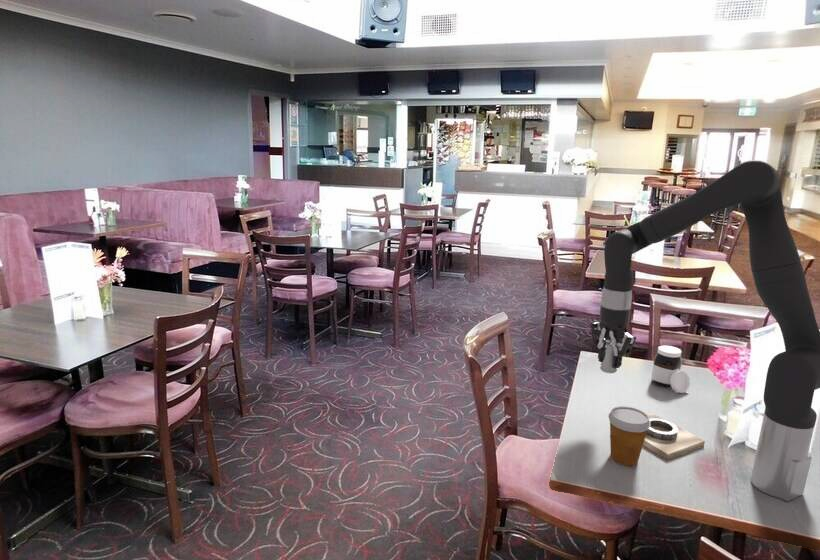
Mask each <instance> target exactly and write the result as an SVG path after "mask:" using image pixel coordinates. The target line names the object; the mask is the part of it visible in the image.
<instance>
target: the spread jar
mask: <svg viewBox="0 0 820 560" xmlns="http://www.w3.org/2000/svg"><path fill="white" fill-rule="evenodd" d="M682 365H683V358H682V350H681V349H680V348H678V347H677V346H672V345H660V346H658V347H657V353H656V355H655V356H654V360H653V364H652V371H651V381H652V382H653V383H654V384H655V385H657V386H659V387H663V388H668V389H669V388H671V389H672V390H673V391H674V392H675V393H680V394H684V393H686V392H687V391H688V390H689V387H690V384H691V383H690V382H691V381H690V376H689V375H688V373H687V372H686V371H684V370H682V367H683V366H682Z"/></svg>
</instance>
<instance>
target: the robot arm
mask: <svg viewBox="0 0 820 560" xmlns="http://www.w3.org/2000/svg"><path fill="white" fill-rule="evenodd" d="M780 177H781V176H780V174H779V172H778V170H776V168H775V167H773V166H772V165H771V164H770V163H767V162H766V161H763V160H759V159H750V160H746V161H743V162H741V163H739V164H738V165H736V166H735V167H733V168H732V169H731V170H729V171H727V172H726V173H725V174H723V175H722V176H720V177H719V178H717V179H716V180H714V181H713V182H712V183H709V184H708V185H706V186H705V187H704V188H701V189H700V190H697V192H694V193H693V194H691V195H689V196H687V197H685V198H682V199H681V200H678V201H677V202H674V203H672V204H670V205H668V206H666V207H664V208H662V209H659V210H658V211H655V212H654V213H652V214H650V215H648V216H646V217H644V218H643V219H642V220H640V221H639V222H636V223H633V224H631V225H629V226H627V227H625V228H622V229H620V230H617V231H615V232H612V233H611V234H610V235H609V236H608V237H607V239H606V241H605V243H604V244H605V245H604V252H603V254H604V255H603V256H604V258H603V259H604V268H605V273H604V281H603V288H602V292H601V299H600V307H599V308H600V309H599V317H598V319H599V320H600V321H595V322H592V323H590V329H591V336H592V343H593V345H595V346H597V349H598V352H597V353H598V354H597V359H598V362H600V363H602V362H603V360H604V358H605V354H606V352H605V350H606V347H605V345H606V343H607V342H608V343H609V342H611V343H612V347H613V348H614V356H613V365H612V367H613V368H615V369H619V368H620V367H621V366H622V363H623V357H624V356H629V355H630V354H631V351H632V349H633V347H634V345H635V342H636V340H637V337H636V335H631V334H630V333H629V332H628V324H629V322H630V318H631V309H632V300H633V294H632V291H633V283H634V271H633V268H632V259H633V254H636V253H637V252H639V251H641V250H644V249H645V248H647V247H649V246H651V245H654V244H658V243H660V242H662V241H665V240H667V239H670V238H671V237H674V236H676V235H678V234H680V233H682V232H684V231H686V230H688V229H689V228H691V227H693V226H694V225H696V224H697V223H699V222H701V221H703V220H704V219H705V218H707V217H710V216H711V215H713V214H716V213H718V212H719V211H723V210H725V209H728V208H730V207H733V206H737V205H740V207H741V208H742V212H743V215H744V218H745V220H746V225H747V229H748V248H749V249H748V251H749V252H748V253H749V263H750V264H749V265H750V269H751V273H752V277H753V282H754V286H755V289H756V291H757V294H758V296H759V298H760V300H761V302H762V303H763V304H764V305H765V307H766V309H767V310H768V311H769V312H770V313H771V316H773V318H774V319H775V321H776V322H777V324H778V327H779V328H780V331H781V335H782V338H783V343H784V349H785V351H782V352H779V353H778V354H776V355H774V356H773V358H771V360H770V362H769V366H768V367H767V371H766V372H767V373H766V379H765V385H764V390H763V403H764V412H763V417H762V421H761V426H760V431H759V436H758V442H757V445H756V446H757V447H756V451H755V456H754V462H753V465H752V466H753V467H752V469H751V475H750V481H751V484H752V485H753V486H754V487H755V488H756V489H758V490H759V491H761V492H763V493H765V494H766V495H770V496H771V497H774V498H775V497H776V498H778V499H782V500H784V501H786V502H790V501H792V500H794V499H795V498H798V497H800V496H802V495H804V492H805V488H806V487H805V486H806V483H807V478H808V475H809V470H810V466H811V462H812V456H811V455H809V452H810V448H811V442H812V438H813V434H814V431H815V426H816V422H817V417H818V415H817V412H816V411H815V409H814V408H812V404H813V398H814V394H815V391H816V390H818V389H820V328H819V325H818V323H817V319H816V316H815V312H814V311H815V310H814V306H813V304H812V300H811V296H810V295H811V294H810V292H809V289H808V285H807V280H806V275H805V271H804V268H803V264H802V260H801V258H800V255H799V251H798V248H797V245H796V243H795V239H794V237H793V235H792V233H791V230H790V227H789V225H788V224H789V223H788V221H787V218H786V214H785V208H784V202H783V197H782V195H783V194H782V187H781V185H782V184H781V178H780Z"/></svg>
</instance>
